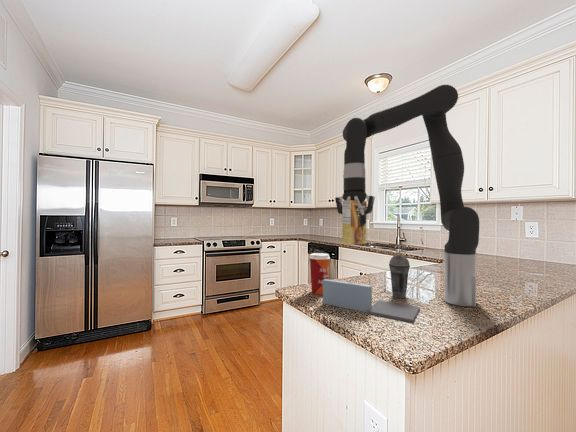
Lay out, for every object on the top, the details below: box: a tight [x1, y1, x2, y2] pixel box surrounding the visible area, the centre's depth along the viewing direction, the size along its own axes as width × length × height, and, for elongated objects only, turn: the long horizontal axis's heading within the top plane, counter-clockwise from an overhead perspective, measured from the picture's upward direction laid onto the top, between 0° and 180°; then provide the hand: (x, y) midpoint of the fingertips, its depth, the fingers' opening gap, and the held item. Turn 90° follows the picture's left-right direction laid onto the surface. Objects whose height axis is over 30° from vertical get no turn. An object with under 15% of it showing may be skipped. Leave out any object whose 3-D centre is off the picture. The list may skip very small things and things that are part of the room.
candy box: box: [341, 199, 368, 246], centre depth 96 cm, size 9×4×15 cm, turn 129°
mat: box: [366, 299, 421, 323], centre depth 85 cm, size 13×13×1 cm
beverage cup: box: [388, 242, 411, 299], centre depth 102 cm, size 7×7×20 cm
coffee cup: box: [308, 252, 331, 296], centre depth 106 cm, size 8×8×15 cm
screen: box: [322, 278, 373, 313], centre depth 89 cm, size 16×2×8 cm, turn 57°
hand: (354, 225), depth 96 cm, fingers closed on candy box, 5 cm apart
